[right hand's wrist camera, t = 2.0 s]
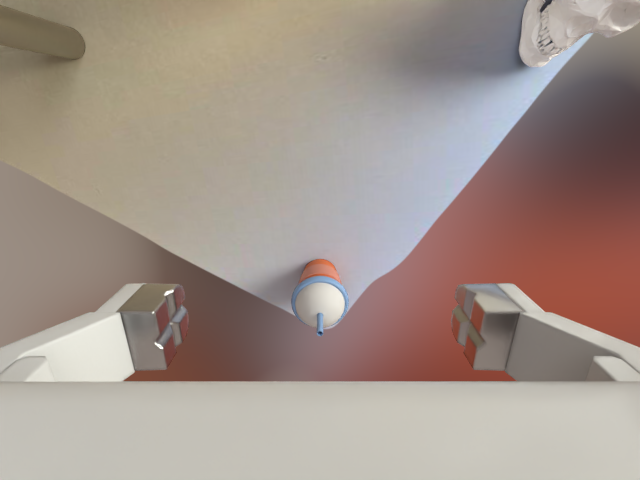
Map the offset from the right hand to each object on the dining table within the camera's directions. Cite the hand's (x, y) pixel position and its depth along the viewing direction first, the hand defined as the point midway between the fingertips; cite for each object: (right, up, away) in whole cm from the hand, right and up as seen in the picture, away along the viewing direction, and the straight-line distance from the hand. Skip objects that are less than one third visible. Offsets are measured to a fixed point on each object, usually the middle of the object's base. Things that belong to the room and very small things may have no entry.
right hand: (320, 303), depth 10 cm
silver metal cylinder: (-37, +31, +40) cm, 62 cm away
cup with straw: (0, -4, +53) cm, 53 cm away
